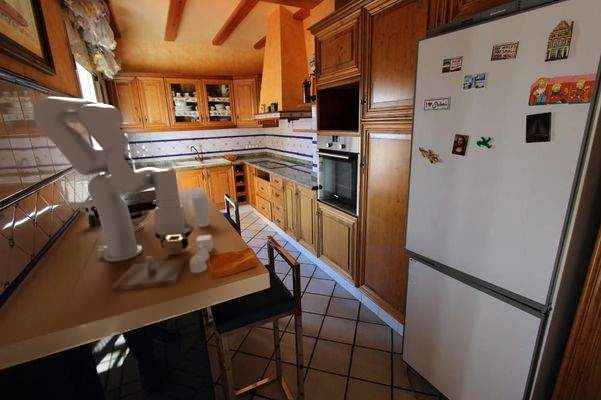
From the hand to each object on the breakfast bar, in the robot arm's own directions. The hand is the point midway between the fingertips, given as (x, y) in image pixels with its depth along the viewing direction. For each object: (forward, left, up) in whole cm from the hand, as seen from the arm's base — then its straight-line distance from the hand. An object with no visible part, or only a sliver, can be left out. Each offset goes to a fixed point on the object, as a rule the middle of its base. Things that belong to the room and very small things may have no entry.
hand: (175, 248), depth 107 cm
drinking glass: (+4, +30, -3) cm, 30 cm away
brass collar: (0, 0, -1) cm, 1 cm away
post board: (-3, -15, -2) cm, 16 cm away
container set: (+11, -7, -3) cm, 13 cm away
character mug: (-54, +48, -3) cm, 72 cm away
